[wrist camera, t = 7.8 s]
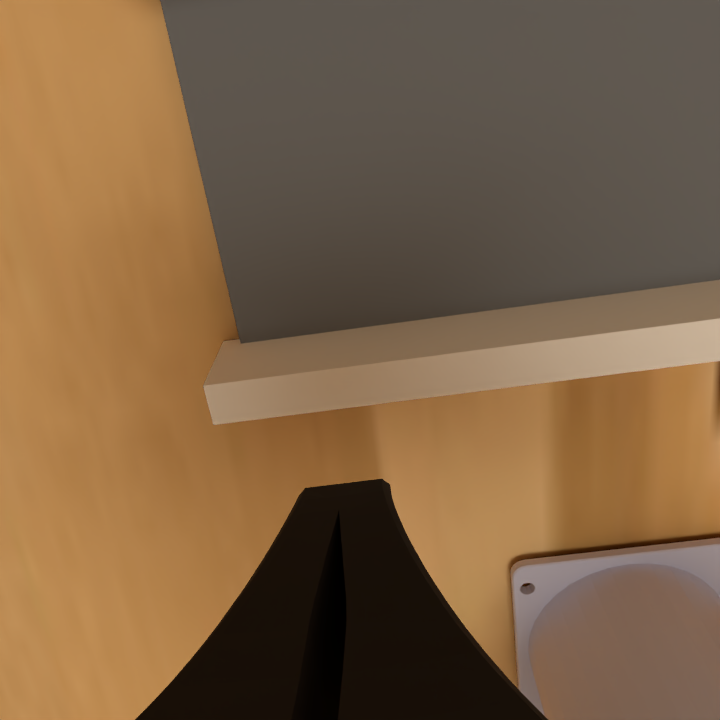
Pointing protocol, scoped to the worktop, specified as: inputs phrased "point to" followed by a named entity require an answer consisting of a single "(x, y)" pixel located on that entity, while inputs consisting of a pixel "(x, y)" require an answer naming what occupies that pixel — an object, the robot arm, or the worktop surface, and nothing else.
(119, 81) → the worktop surface
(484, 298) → the lane
